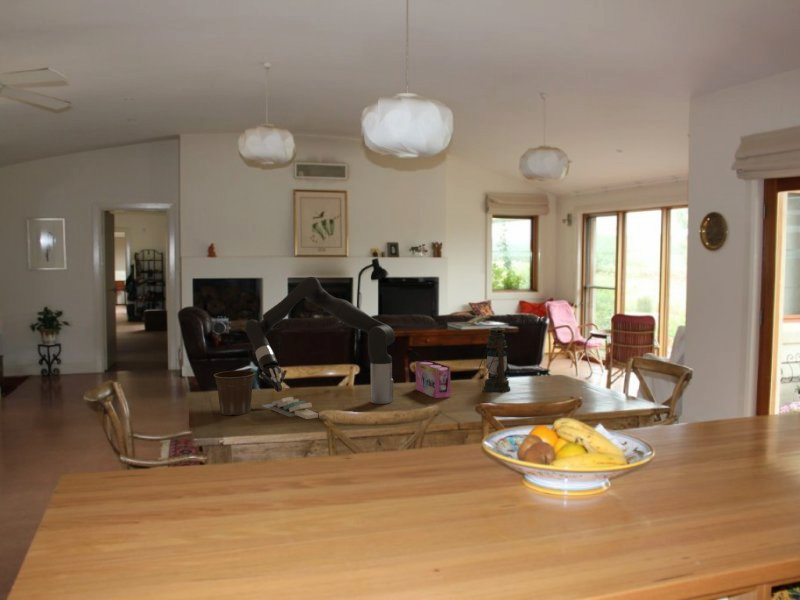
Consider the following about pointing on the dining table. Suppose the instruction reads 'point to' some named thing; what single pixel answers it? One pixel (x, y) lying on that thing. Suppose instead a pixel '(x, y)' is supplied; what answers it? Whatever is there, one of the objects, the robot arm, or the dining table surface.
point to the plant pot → (235, 391)
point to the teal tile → (293, 405)
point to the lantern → (496, 362)
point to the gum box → (433, 379)
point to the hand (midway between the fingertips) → (279, 390)
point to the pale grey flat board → (280, 410)
